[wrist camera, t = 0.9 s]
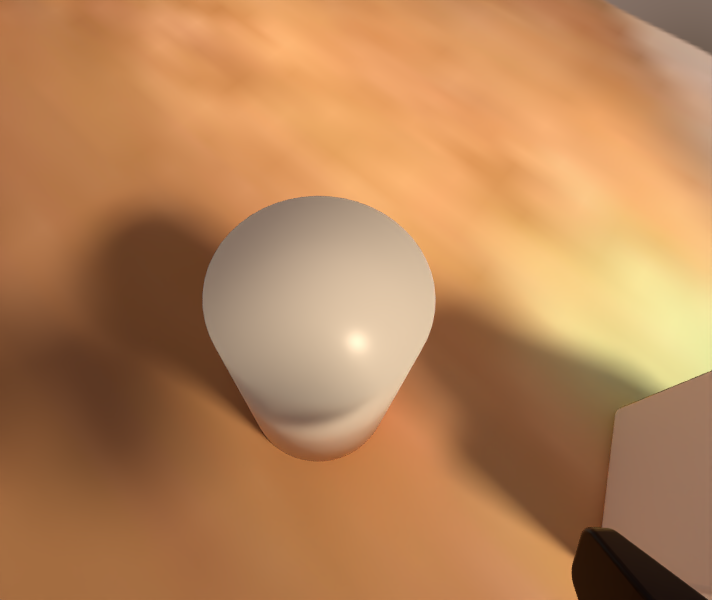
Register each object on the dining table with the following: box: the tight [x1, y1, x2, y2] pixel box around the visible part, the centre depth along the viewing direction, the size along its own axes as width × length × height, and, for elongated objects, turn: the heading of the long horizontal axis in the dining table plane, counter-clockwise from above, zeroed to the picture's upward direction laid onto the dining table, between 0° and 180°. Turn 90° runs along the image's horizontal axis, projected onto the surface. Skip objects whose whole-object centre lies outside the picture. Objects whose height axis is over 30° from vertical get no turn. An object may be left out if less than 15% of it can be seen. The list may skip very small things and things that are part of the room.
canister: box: [203, 196, 436, 461], centre depth 17 cm, size 6×6×10 cm
